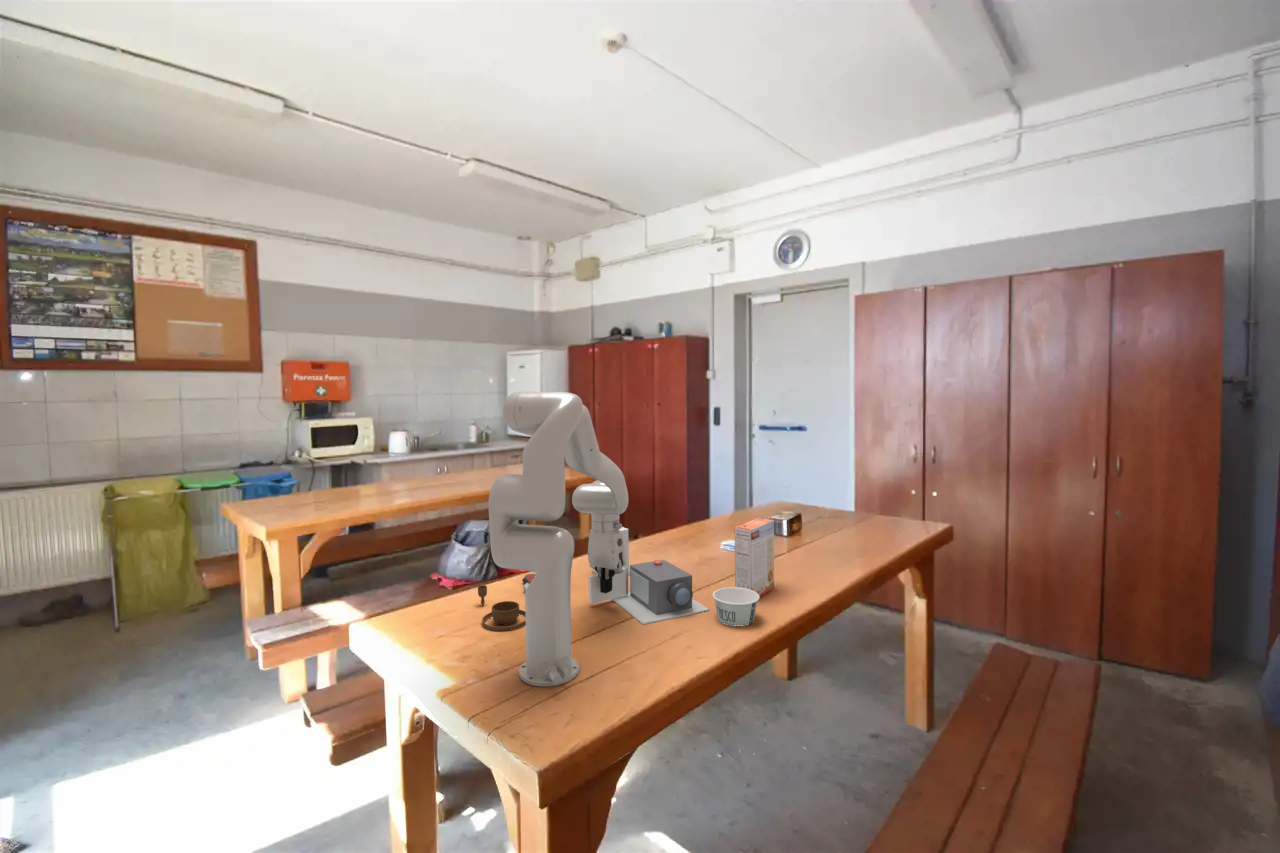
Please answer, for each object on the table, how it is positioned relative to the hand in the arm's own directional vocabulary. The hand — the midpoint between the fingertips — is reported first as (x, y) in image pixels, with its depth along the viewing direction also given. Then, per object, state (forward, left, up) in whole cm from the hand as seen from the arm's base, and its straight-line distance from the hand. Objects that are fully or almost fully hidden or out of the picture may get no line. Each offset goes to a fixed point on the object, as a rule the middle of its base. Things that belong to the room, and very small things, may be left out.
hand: (606, 591), depth 162 cm
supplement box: (+26, -13, -5) cm, 30 cm away
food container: (-23, -27, -5) cm, 35 cm away
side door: (+4, -2, -4) cm, 6 cm away
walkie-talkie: (+21, +13, -5) cm, 25 cm away
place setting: (+7, +26, -5) cm, 27 cm away
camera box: (-4, -15, -5) cm, 16 cm away
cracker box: (-10, -43, -5) cm, 44 cm away
